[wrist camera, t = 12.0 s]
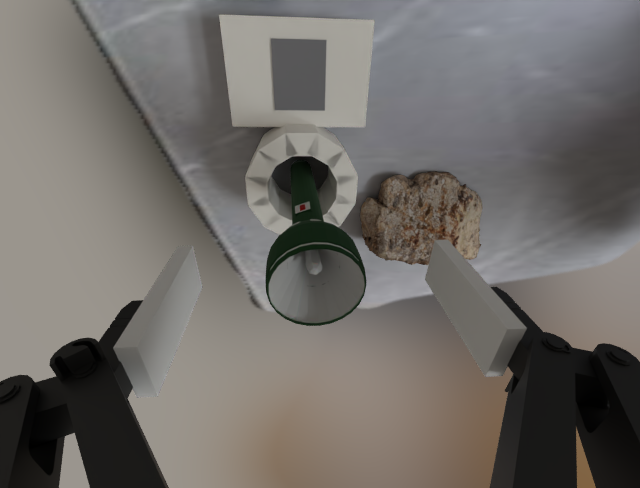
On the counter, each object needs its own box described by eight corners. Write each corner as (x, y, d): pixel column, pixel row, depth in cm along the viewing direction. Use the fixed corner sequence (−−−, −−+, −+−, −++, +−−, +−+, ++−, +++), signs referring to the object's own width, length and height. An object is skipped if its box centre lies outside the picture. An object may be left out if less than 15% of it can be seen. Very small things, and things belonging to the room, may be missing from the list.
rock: (351, 244, 38) (361, 272, 33) (368, 163, 33) (382, 181, 28) (464, 251, 40) (489, 278, 35) (496, 176, 35) (530, 195, 30)
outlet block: (367, 23, 26) (389, 12, 20) (352, 209, 35) (365, 236, 29) (224, 18, 25) (206, 5, 19) (246, 211, 34) (238, 240, 28)
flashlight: (316, 136, 30) (354, 230, 13) (330, 183, 33) (378, 311, 16) (268, 153, 31) (246, 265, 14) (286, 197, 33) (286, 338, 16)
